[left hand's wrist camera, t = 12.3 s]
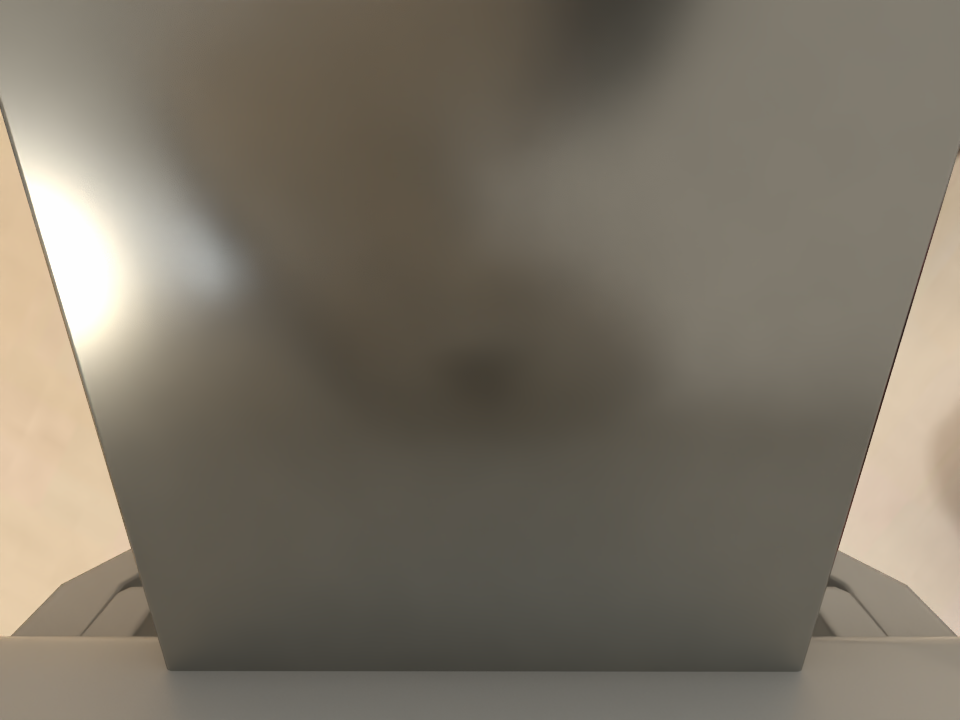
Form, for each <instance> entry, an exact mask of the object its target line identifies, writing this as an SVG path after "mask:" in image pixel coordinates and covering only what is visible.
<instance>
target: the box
mask: <svg viewBox="0 0 960 720" xmlns="http://www.w3.org/2000/svg"><path fill="white" fill-rule="evenodd" d="M0 109H1V112H2V116H3V119H4V122H5V126H6V129H7V132H8V136H9V139H10V142H11V146H12V149H13V153H14V156H15V159H16V163H17V166H18V169H19V173H20V176H21V179H22V183H23V186H24V190H25V193H26V196H27V200H28V203H29V206H30V210H31V213H32V216H33V220H34V223H35V227H36V230H37V233H38V237H39V240H40V243H41V247H42V250H43V253H44V257H45V260H46V263H47V267H48V270H49V274H50V277H51V280H52V284H53V287H54V290H55V294H56V297H57V300H58V304H59V307H60V311H61V314H62V317H63V321H64V324H65V327H66V331H67V334H68V337H69V341H70V344H71V348H72V351H73V354H74V358H75V361H76V364H77V368H78V371H79V374H80V378H81V381H82V385H83V388H84V391H85V395H86V398H87V401H88V405H89V408H90V411H91V415H92V418H93V421H94V425H95V428H96V432H97V435H98V438H99V442H100V445H101V448H102V452H103V455H104V458H105V462H106V465H107V469H108V472H109V475H110V479H111V482H112V485H113V489H114V492H115V495H116V499H117V502H118V506H119V509H120V512H121V516H122V519H123V522H124V526H125V529H126V532H127V536H128V539H129V543H130V546H131V549H132V553H133V556H134V559H135V563H136V566H137V569H138V573H139V576H140V579H141V583H142V586H143V590H144V593H145V596H146V600H147V603H148V606H149V610H150V613H151V616H152V620H153V623H154V627H155V630H156V633H157V637H158V640H159V643H160V647H161V650H162V653H163V657H164V660H165V664H166V667H167V670H170V671H561V672H798V671H801V670H802V667H803V664H804V661H805V657H806V654H807V651H808V647H809V644H810V641H811V637H812V634H813V631H814V627H815V624H816V621H817V618H818V614H819V611H820V608H821V604H822V601H823V598H824V594H825V591H826V588H827V584H828V581H829V578H830V574H831V571H832V568H833V565H834V561H835V558H836V555H837V551H838V548H839V545H840V541H841V538H842V535H843V531H844V528H845V525H846V521H847V518H848V515H849V511H850V508H851V505H852V502H853V498H854V495H855V492H856V488H857V485H858V482H859V478H860V475H861V472H862V468H863V465H864V462H865V458H866V455H867V452H868V448H869V445H870V442H871V439H872V435H873V432H874V429H875V425H876V422H877V419H878V415H879V412H880V409H881V405H882V402H883V399H884V395H885V392H886V389H887V386H888V382H889V379H890V376H891V372H892V369H893V366H894V362H895V359H896V356H897V352H898V349H899V346H900V342H901V339H902V336H903V332H904V329H905V326H906V323H907V319H908V316H909V313H910V309H911V306H912V303H913V299H914V296H915V293H916V289H917V286H918V283H919V279H920V276H921V273H922V270H923V266H924V263H925V260H926V256H927V253H928V250H929V246H930V243H931V240H932V236H933V233H934V230H935V226H936V223H937V220H938V216H939V213H940V210H941V207H942V203H943V200H944V197H945V193H946V190H947V187H948V183H949V180H950V177H951V173H952V170H953V167H954V163H955V160H956V157H957V153H958V150H959V147H960V0H0Z"/></svg>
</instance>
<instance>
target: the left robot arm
mask: <svg viewBox="0 0 960 720" xmlns="http://www.w3.org/2000/svg"><path fill="white" fill-rule="evenodd" d="M0 720H960V637H958V636H957V635H956V634H955V633H954V632H953V631H952V630H951V629H950V628H949V627H948V626H947V625H946V624H945V623H944V622H943V621H942V620H941V619H940V618H939V617H938V616H937V615H936V614H935V613H934V612H933V611H932V610H931V609H930V608H929V607H928V606H927V605H926V604H925V603H924V602H923V601H922V600H921V599H920V598H919V597H918V596H917V595H916V594H915V593H914V592H913V591H912V590H911V589H910V588H909V587H908V586H907V585H905V584H903V583H901V582H900V581H898V580H896V579H894V578H892V577H890V576H888V575H886V574H884V573H882V572H880V571H878V570H876V569H874V568H872V567H870V566H868V565H866V564H864V563H862V562H860V561H858V560H856V559H854V558H852V557H850V556H848V555H847V554H845V553H843V552H841V551H839V550H838V551H837V555H836V558H835V561H834V565H833V568H832V571H831V574H830V578H829V581H828V584H827V588H826V591H825V594H824V598H823V601H822V604H821V608H820V611H819V614H818V618H817V621H816V624H815V627H814V631H813V634H812V637H811V641H810V644H809V647H808V651H807V654H806V657H805V661H804V664H803V667H802V670H801V671H798V672H561V671H170V670H167V667H166V664H165V660H164V657H163V653H162V650H161V647H160V643H159V640H158V637H157V633H156V630H155V627H154V623H153V620H152V616H151V613H150V610H149V606H148V603H147V600H146V596H145V593H144V590H143V586H142V583H141V579H140V576H139V573H138V569H137V566H136V563H135V559H134V556H133V553H132V549H130V550H128V551H126V552H124V553H122V554H120V555H118V556H116V557H114V558H112V559H110V560H108V561H106V562H104V563H102V564H100V565H99V566H97V567H95V568H93V569H91V570H89V571H87V572H85V573H83V574H81V575H79V576H77V577H75V578H73V579H71V580H69V581H67V582H65V583H63V584H61V585H60V587H59V588H58V589H57V590H56V591H55V592H54V593H53V594H52V595H51V596H50V597H49V598H48V599H47V600H46V601H45V602H44V603H43V604H42V605H41V606H40V607H39V608H38V609H37V610H36V611H35V612H34V613H33V614H32V615H31V616H30V617H29V618H28V619H27V620H26V621H25V622H24V623H23V624H22V625H21V626H20V627H19V628H18V629H17V630H16V631H15V632H14V633H13V634H12V635H11V636H0Z"/></svg>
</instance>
